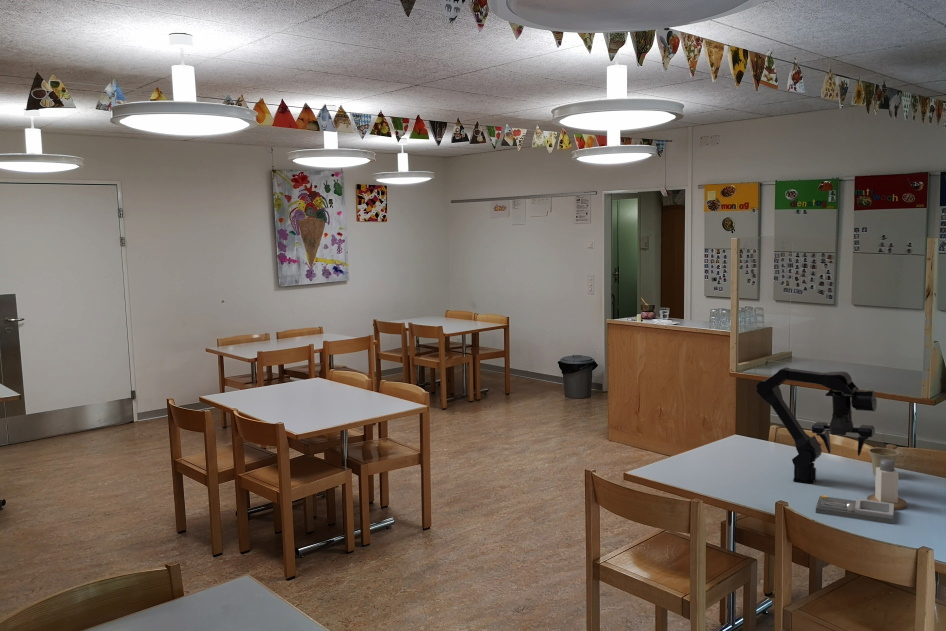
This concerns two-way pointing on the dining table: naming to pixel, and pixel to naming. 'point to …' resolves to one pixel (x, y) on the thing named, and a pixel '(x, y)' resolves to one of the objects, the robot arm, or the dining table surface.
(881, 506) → the grey control panel
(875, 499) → the disc
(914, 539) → the dining table surface
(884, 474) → the white carton with cap
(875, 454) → the flower pot
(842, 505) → the lever
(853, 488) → the dining table surface
